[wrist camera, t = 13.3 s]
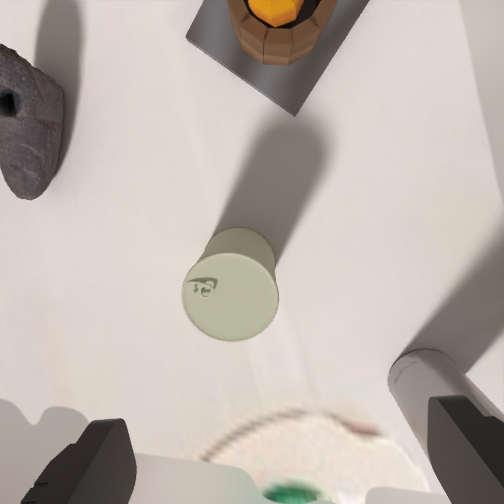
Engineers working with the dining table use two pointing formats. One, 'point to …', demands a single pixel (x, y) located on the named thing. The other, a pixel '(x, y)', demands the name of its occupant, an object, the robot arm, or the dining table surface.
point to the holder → (275, 44)
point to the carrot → (276, 10)
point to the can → (232, 287)
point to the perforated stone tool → (28, 125)
